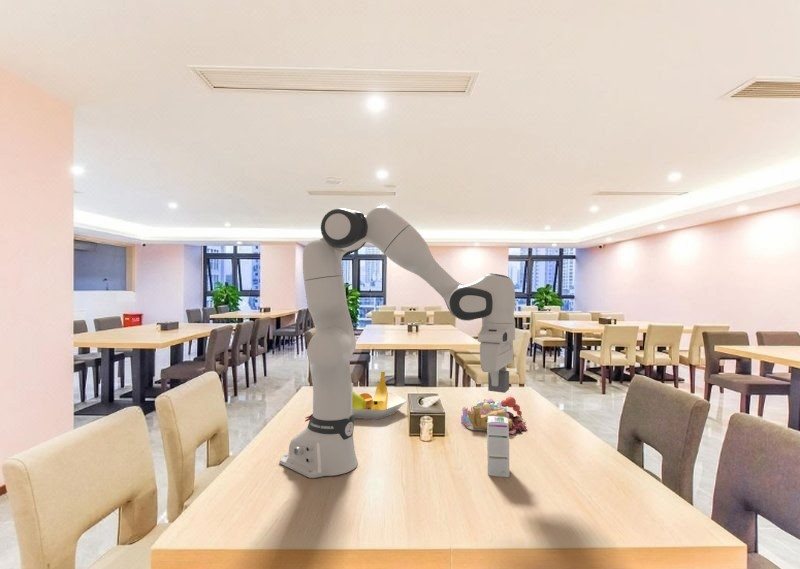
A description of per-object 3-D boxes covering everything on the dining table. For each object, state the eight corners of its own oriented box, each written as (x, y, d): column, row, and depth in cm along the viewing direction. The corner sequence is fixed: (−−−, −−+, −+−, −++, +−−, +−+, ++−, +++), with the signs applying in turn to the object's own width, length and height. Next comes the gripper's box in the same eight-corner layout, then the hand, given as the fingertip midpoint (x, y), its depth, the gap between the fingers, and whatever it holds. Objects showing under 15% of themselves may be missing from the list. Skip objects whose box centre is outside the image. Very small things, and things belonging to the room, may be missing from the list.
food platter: (530, 438, 137) (531, 411, 138) (460, 433, 141) (460, 407, 142) (521, 416, 162) (521, 392, 162) (461, 412, 166) (462, 389, 166)
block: (488, 390, 110) (488, 372, 111) (492, 387, 114) (492, 369, 114) (504, 392, 108) (504, 374, 108) (509, 389, 112) (509, 371, 112)
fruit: (328, 406, 173) (329, 372, 173) (385, 399, 184) (385, 367, 184) (350, 428, 146) (351, 388, 146) (415, 418, 157) (415, 381, 157)
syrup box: (509, 477, 108) (510, 423, 108) (487, 475, 109) (487, 421, 109) (508, 468, 113) (508, 416, 114) (486, 466, 115) (487, 415, 115)
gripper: (497, 329, 122) (497, 375, 122) (475, 335, 104) (475, 389, 104) (518, 330, 119) (518, 377, 119) (500, 337, 101) (500, 392, 101)
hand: (498, 383), depth 111 cm, fingers closed on block, 4 cm apart
